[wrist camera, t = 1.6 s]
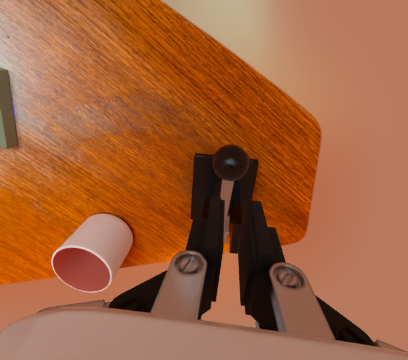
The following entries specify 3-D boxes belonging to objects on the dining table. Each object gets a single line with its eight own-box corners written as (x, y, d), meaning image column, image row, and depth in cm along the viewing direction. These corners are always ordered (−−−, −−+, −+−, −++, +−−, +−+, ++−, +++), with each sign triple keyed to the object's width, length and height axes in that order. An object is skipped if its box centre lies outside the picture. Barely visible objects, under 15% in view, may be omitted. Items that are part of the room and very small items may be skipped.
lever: (215, 135, 20) (211, 161, 18) (252, 139, 20) (252, 165, 18) (208, 221, 32) (205, 243, 30) (231, 224, 32) (230, 246, 30)
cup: (142, 248, 47) (121, 290, 38) (98, 254, 49) (69, 295, 40) (123, 206, 43) (95, 242, 34) (77, 214, 45) (39, 250, 36)
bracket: (195, 152, 37) (180, 188, 26) (257, 159, 37) (270, 199, 25) (191, 215, 42) (177, 268, 31) (246, 221, 42) (252, 278, 30)
